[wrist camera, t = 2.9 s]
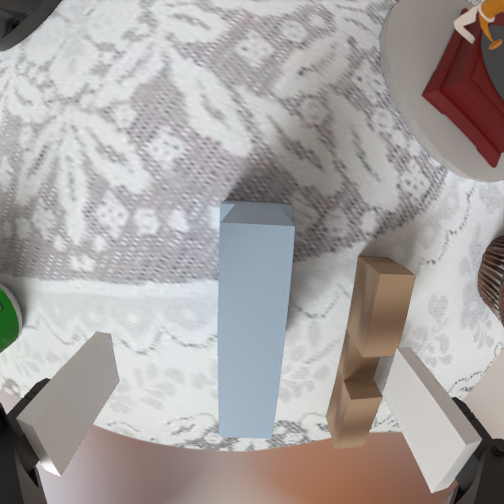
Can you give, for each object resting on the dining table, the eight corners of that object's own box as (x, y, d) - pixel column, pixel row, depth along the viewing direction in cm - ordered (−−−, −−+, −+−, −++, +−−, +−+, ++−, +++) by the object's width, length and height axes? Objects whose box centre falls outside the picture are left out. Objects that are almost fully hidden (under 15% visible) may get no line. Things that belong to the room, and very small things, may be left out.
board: (358, 256, 25) (380, 273, 20) (389, 257, 25) (415, 275, 20) (326, 416, 29) (334, 448, 24) (351, 414, 29) (362, 445, 24)
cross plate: (224, 200, 24) (195, 221, 12) (288, 203, 24) (319, 227, 12) (221, 337, 27) (201, 434, 15) (277, 339, 27) (289, 438, 15)
